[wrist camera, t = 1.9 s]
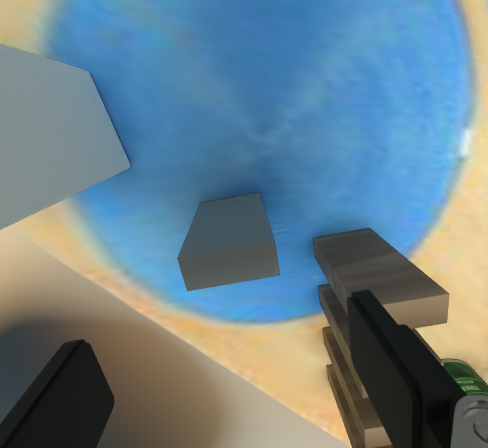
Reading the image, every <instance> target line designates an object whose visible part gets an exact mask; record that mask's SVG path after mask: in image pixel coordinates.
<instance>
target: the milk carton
mask: <svg viewBox="0 0 488 448" xmlns="http://www.w3.org/2000/svg"><path fill="white" fill-rule="evenodd" d="M129 168H130V163H129V160H128V158H127V156H126V153H125V151H124V149H123V147H122V144H121V142H120V140H119V138H118V135H117V133H116V131H115V129H114V126H113V124H112V122H111V120H110V117H109V115H108V113H107V111H106V108H105V106H104V104H103V102H102V99H101V97H100V95H99V93H98V90H97V88H96V86H95V84H94V81H93V79H92V77H91V75H90V73H89V72H88V71H86V70H83V69H80V68H77V67H74V66H71V65H68V64H64V63H61V62H58V61H55V60H52V59H48V58H45V57H42V56H39V55H36V54H33V53H29V52H26V51H23V50H20V49H17V48H14V47H10V46H7V45H4V44H1V43H0V230H1V229H3V228H5V227H7V226H9V225H11V224H13V223H16V222H18V221H20V220H22V219H24V218H26V217H28V216H30V215H32V214H34V213H37V212H39V211H41V210H43V209H45V208H47V207H49V206H51V205H53V204H55V203H57V202H60V201H62V200H64V199H66V198H68V197H70V196H72V195H74V194H76V193H78V192H81V191H83V190H85V189H87V188H89V187H91V186H93V185H95V184H97V183H99V182H102V181H104V180H106V179H108V178H110V177H112V176H114V175H116V174H118V173H120V172H123V171H125V170H127V169H129Z"/></svg>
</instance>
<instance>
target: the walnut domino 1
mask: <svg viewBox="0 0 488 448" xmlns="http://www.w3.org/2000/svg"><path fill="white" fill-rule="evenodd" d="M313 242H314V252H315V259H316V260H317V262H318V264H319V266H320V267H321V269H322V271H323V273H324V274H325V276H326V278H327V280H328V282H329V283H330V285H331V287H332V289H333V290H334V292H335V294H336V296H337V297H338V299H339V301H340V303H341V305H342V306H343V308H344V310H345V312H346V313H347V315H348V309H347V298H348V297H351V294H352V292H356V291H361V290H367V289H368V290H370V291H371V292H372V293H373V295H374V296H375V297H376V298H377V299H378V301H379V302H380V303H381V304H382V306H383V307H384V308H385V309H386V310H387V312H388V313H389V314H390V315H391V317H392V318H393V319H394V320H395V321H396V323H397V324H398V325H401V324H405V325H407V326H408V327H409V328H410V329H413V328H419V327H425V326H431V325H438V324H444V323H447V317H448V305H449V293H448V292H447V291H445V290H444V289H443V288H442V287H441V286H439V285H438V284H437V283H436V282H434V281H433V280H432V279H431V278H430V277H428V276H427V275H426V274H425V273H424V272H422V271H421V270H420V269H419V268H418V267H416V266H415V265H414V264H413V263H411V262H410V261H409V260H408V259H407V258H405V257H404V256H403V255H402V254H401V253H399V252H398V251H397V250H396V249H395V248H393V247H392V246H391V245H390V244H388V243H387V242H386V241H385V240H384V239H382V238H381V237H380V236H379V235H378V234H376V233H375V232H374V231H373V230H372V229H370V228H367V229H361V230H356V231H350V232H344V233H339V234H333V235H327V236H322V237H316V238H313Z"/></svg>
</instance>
